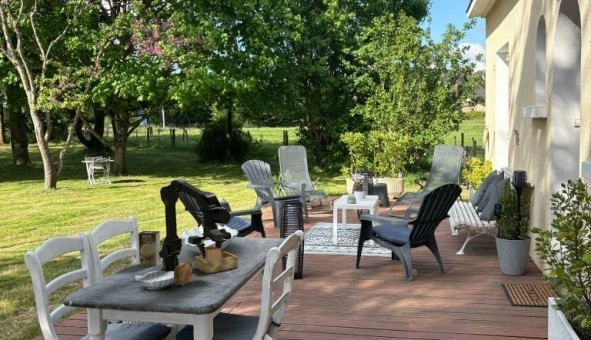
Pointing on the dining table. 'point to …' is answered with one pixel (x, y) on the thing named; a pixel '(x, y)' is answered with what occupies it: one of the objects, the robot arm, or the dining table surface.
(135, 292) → the dining table surface
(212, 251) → the terracotta crate
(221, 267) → the pine crate
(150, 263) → the coffee box
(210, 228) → the robot arm
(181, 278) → the tin
